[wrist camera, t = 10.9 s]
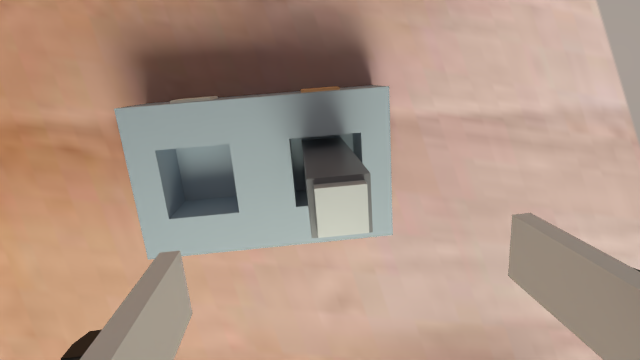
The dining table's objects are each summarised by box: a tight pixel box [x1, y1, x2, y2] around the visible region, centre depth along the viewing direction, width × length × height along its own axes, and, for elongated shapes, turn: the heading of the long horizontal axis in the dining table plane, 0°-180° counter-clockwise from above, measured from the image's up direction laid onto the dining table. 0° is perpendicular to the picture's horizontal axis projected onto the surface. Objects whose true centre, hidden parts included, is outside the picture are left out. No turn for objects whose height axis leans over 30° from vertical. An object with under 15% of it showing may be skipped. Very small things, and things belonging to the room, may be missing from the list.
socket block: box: [114, 85, 393, 259], centre depth 31 cm, size 20×12×6 cm, turn 94°
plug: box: [301, 137, 373, 238], centre depth 26 cm, size 4×4×14 cm
